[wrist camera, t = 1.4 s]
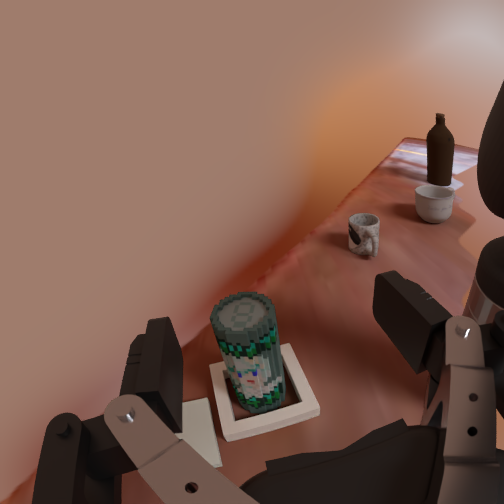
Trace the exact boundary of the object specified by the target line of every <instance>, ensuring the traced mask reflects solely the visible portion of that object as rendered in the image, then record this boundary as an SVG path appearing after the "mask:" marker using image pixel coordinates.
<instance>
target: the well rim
mask: <svg viewBox="0 0 504 504" xmlns="http://www.w3.org/2000/svg"><path fill="white" fill-rule="evenodd" d="M280 349H281V356H282V363H283V364H284V366H285V369H286V371H287V373H288V376H289V378H290V380H291V383H292V385H293V387H294V390H295V392H296V394H297V396H298V399H299V401H300V403H297V404H294V405H291V406H288V407H285V408H282V409H278V410H275V411H272V412H268V413H265V414H261V415H257V416H254V417H250V418H246V419H242V420H238V421H235V417H234V413H233V409H232V405H231V401H230V396H229V392H228V388H227V384H226V380H225V379H227V378H230V376H229V374H228V371H227V368H226V365H225V362H224V361H222V362H218V363H214V364H210V365H209V366H210V372H211V377H212V382H213V387H214V393H215V398H216V403H217V407H218V412H219V417H220V422H221V426H222V431H223V435H224V437H225V439H226V441H227V442H229V441H234V440H238V439H242V438H246V437H250V436H254V435H258V434H261V433H265V432H269V431H272V430H276V429H279V428H282V427H285V426H289V425H292V424H295V423H298V422H301V421H304V420H307V419H310V418H313V417H315V416H318V415H320V406H319V404H318V402H317V400H316V398H315V396H314V394H313V392H312V390H311V387H310V385H309V383H308V381H307V379H306V377H305V375H304V373H303V371H302V369H301V366H300V364H299V362H298V360H297V358H296V356H295V354H294V352H293V350H292V347H291V345H290V343H287V344H284V345H280Z"/></svg>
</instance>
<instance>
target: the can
mask: <svg viewBox="0 0 504 504" xmlns="http://www.w3.org/2000/svg"><path fill="white" fill-rule="evenodd" d="M210 321H211V324H212V327H213V330H214V333H215V336H216V339H217V342H218V345H219V348H220V351H221V354H222V357H223V360H224V362H225V365H226V368H227V371H228V374H229V376H230V379H231V382H232V385H233V387H234V390H235V393H236V395H237V398H238V401H239V403H240V404H241V405H242V407H244V409H245V410H250V413H258V414H265V413H267V411H274V409H277V406H281V401H284V400H285V392H286V386H285V378H284V371H283V364H282V356H281V349H280V342H279V335H278V327H277V320H276V313H275V306H274V304H272V302H271V299H268V297H264V294H257V292H238V294H237V295H229V297H225V299H224V300H220V303H219V305H215V306H214V308H213V311H212V314H211V316H210Z"/></svg>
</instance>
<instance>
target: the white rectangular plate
mask: <svg viewBox="0 0 504 504" xmlns="http://www.w3.org/2000/svg"><path fill="white" fill-rule="evenodd" d="M182 428H183V433H177V434H175V435H176V436H177V437H178V438H179V439H183V440H184V441H186V442H187V443H188V444H189V445H190V446H191V447H192V448H193V449H194V450H195V451H196V452H198V453H199V454H200V455H201V456H202V457H203V458H204V459H205V460H206V461H207V462H209V463H210V464H211V465H212V466H213V467H214V468H216V467H221V466H222V461H221V457H220V452H219V448H218V443H217V438H216V433H215V428H214V423H213V418H212V413H211V408H210V402H209V400H208V398H203V399H198V400H194V401H189V402H184V403H182Z"/></svg>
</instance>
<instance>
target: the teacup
mask: <svg viewBox="0 0 504 504" xmlns="http://www.w3.org/2000/svg"><path fill="white" fill-rule="evenodd" d="M415 193H416V195H415V204H416V211H417V213H418V215H419V216H420V217H421V218H422V219H423V220H425V221H427V222H430V223H441V222H443V221H445V220H446V219H448V218H449V217H450V215H451V212H452V204H453V199H454V196H455V191H454V189H453V188H450V187H449V188H445V187H441V186H435V185H423V186H419V187H417V188H416V189H415Z"/></svg>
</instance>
